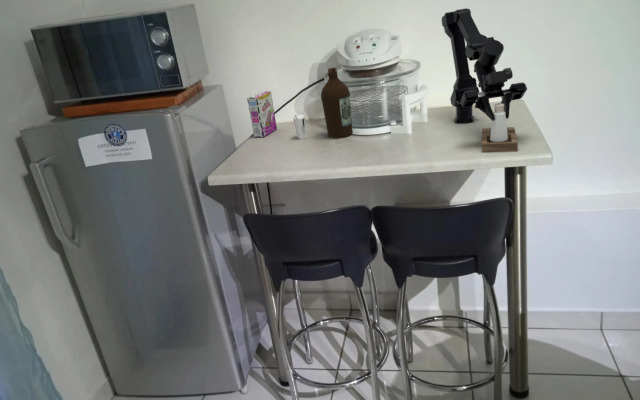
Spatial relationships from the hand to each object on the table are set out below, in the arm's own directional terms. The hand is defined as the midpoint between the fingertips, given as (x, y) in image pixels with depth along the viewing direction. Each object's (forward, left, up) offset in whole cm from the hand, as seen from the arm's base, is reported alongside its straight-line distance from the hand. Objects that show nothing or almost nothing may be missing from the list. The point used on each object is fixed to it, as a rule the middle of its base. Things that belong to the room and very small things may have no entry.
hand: (500, 119), depth 146 cm
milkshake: (-19, -71, -9) cm, 74 cm away
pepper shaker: (-1, 0, -7) cm, 7 cm away
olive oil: (-21, -56, -9) cm, 61 cm away
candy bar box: (-28, -90, -9) cm, 95 cm away
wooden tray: (-4, 0, -9) cm, 10 cm away
